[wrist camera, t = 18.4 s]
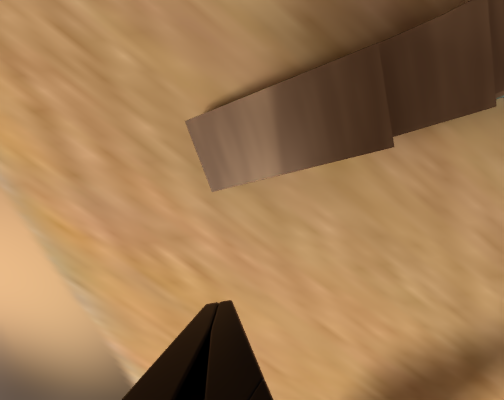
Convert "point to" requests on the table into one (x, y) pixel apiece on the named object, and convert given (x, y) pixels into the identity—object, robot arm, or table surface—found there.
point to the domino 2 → (439, 69)
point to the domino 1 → (297, 123)
